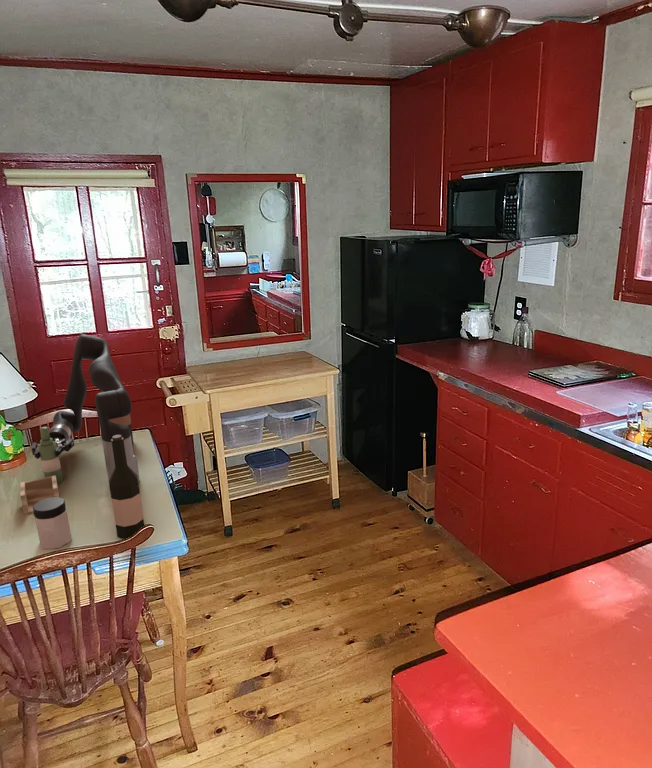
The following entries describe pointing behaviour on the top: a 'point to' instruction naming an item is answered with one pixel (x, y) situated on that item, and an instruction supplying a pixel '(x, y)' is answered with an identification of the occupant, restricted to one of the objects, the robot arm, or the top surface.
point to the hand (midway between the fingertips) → (46, 455)
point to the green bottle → (49, 456)
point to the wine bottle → (124, 493)
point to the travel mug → (124, 423)
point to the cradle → (37, 492)
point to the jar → (52, 522)
